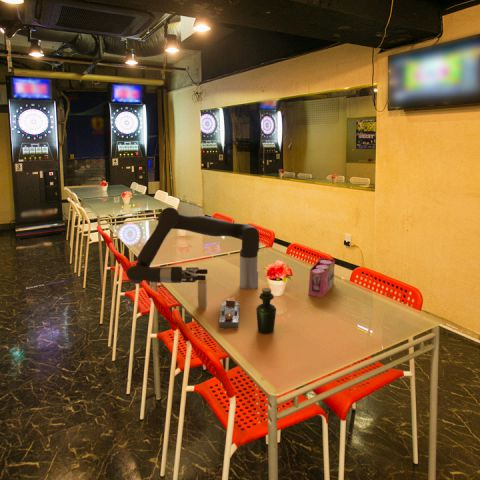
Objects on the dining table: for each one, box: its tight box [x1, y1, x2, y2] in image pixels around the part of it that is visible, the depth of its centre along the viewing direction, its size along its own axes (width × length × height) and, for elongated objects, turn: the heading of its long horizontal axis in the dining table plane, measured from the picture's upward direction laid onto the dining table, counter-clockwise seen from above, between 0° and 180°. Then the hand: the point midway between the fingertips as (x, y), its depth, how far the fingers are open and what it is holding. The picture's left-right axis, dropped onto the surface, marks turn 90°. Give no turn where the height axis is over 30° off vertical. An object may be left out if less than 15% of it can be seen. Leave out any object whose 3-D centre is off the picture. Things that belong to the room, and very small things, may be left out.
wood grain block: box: [197, 278, 208, 310], centre depth 193 cm, size 5×4×13 cm
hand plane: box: [218, 297, 240, 329], centre depth 184 cm, size 22×8×5 cm, turn 179°
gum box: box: [307, 258, 336, 298], centre depth 216 cm, size 24×8×14 cm, turn 155°
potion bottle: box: [255, 287, 277, 335], centre depth 170 cm, size 8×8×18 cm
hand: (206, 274), depth 191 cm, fingers open, 8 cm apart
